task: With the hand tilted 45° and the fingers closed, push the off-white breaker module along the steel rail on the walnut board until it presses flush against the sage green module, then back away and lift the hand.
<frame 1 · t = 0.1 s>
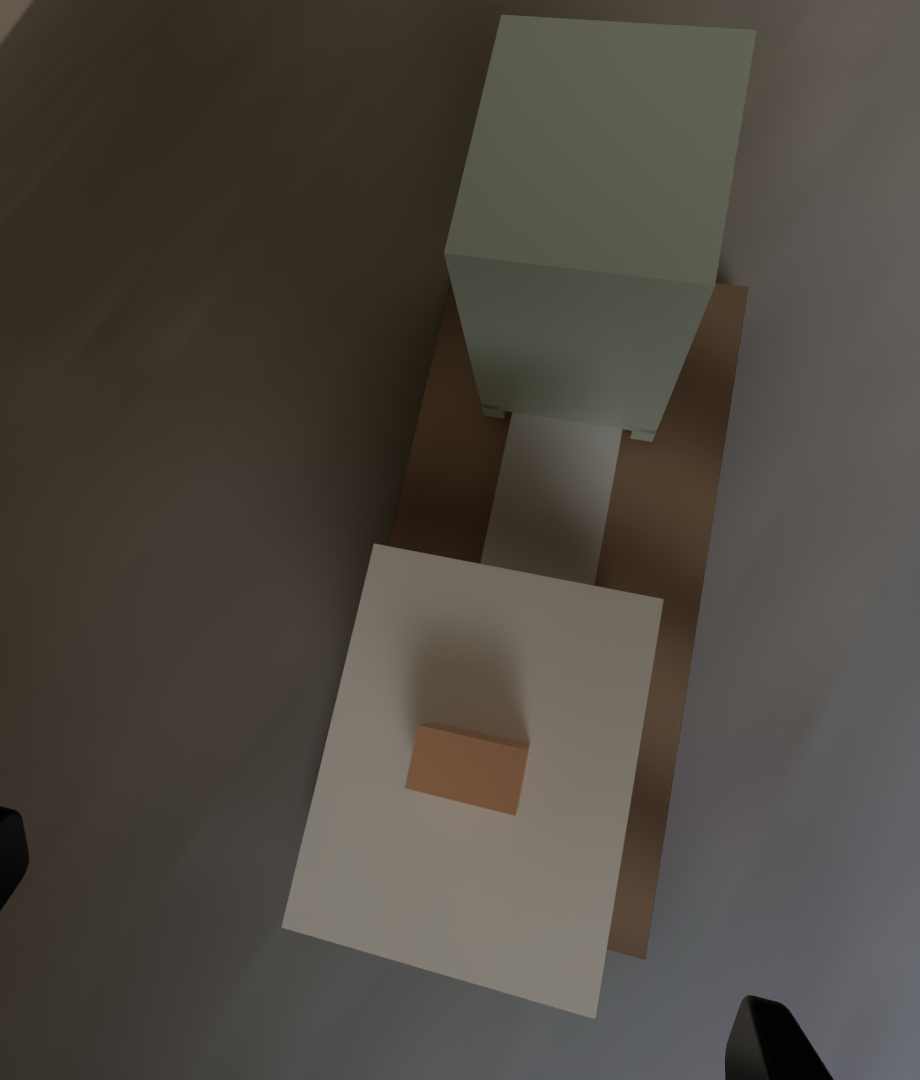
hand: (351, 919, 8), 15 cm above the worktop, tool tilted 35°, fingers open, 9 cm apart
installed module: (580, 368, 25), resting on rail board
rail board: (540, 571, 24), on the worktop
breaker module: (492, 745, 16), point 7 cm above the worktop, slide at 0.0 cm
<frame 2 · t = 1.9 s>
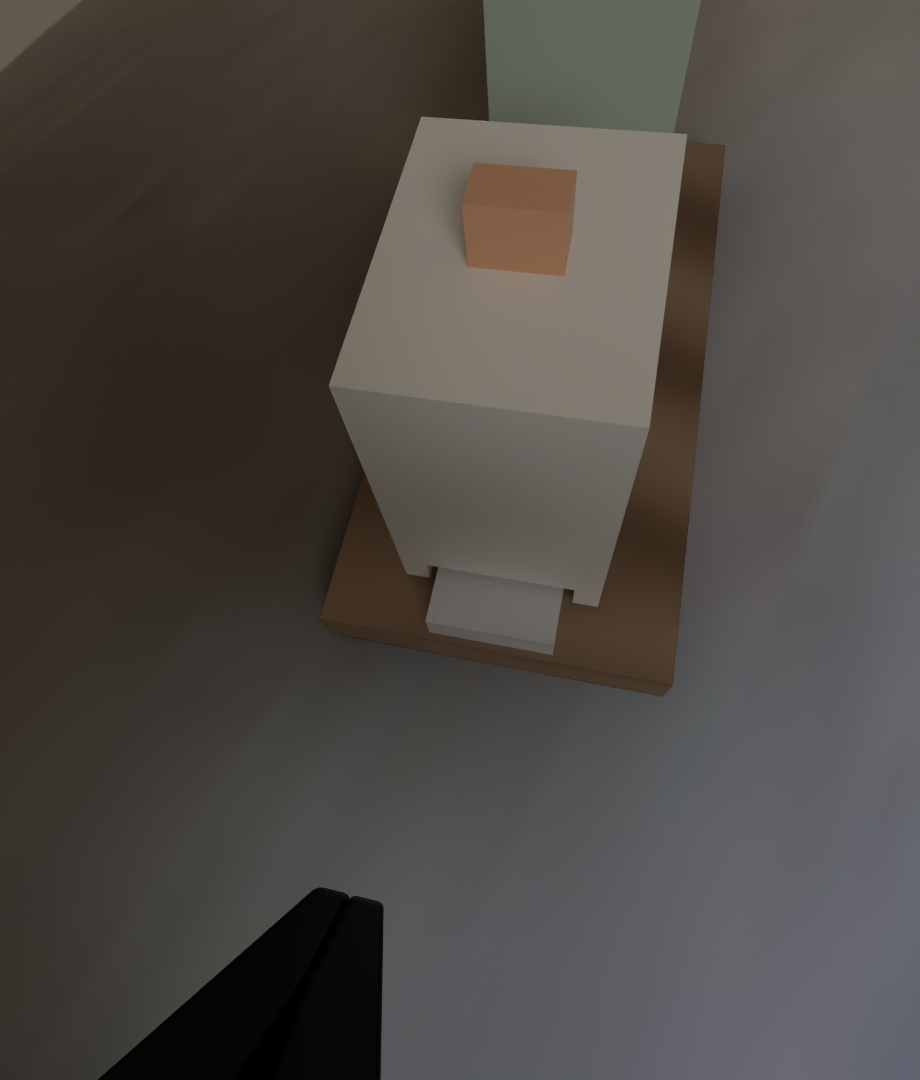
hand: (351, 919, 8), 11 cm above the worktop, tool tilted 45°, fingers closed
installed module: (579, 223, 28), resting on rail board
rail board: (548, 377, 25), on the worktop
breaker module: (521, 376, 17), point 7 cm above the worktop, slide at 0.0 cm
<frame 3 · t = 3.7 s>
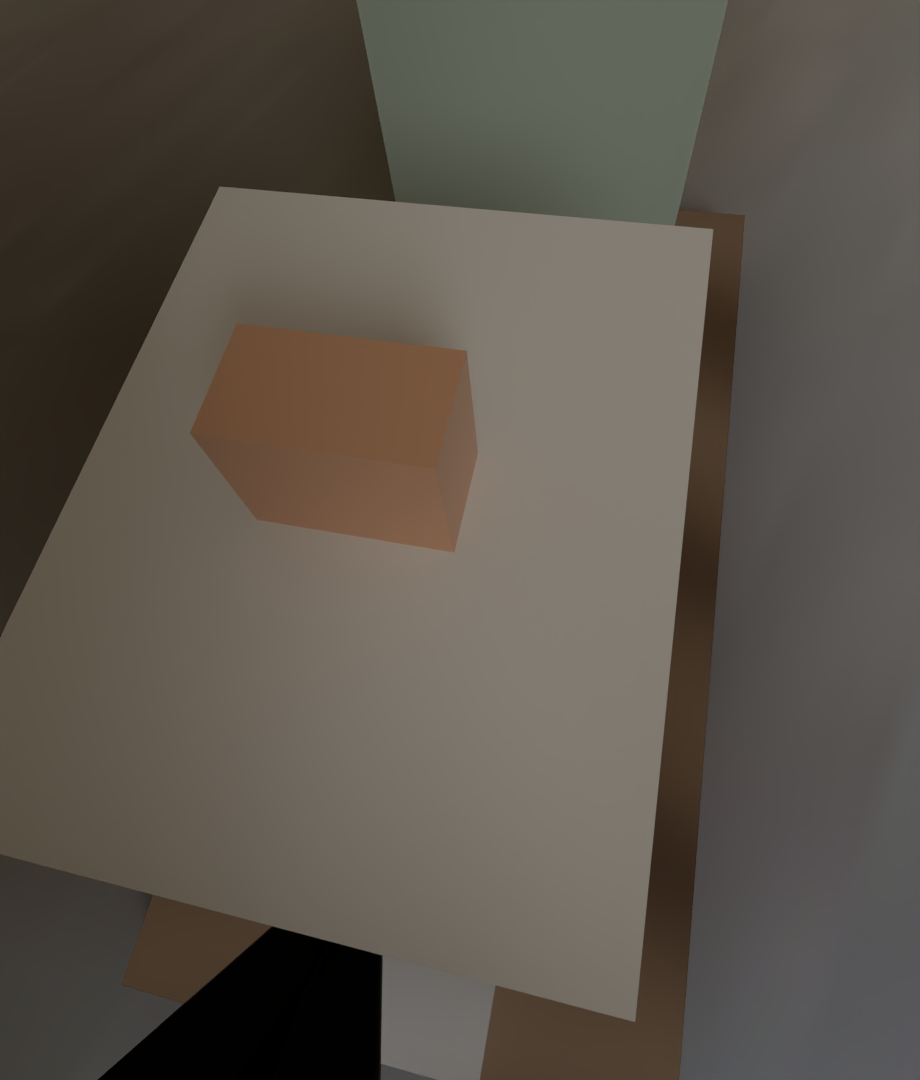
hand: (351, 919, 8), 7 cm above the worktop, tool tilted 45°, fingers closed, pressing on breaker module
installed module: (546, 317, 21), resting on rail board
rail board: (497, 549, 18), on the worktop
breaker module: (423, 618, 10), point 7 cm above the worktop, slide at 1.1 cm, touching gripper
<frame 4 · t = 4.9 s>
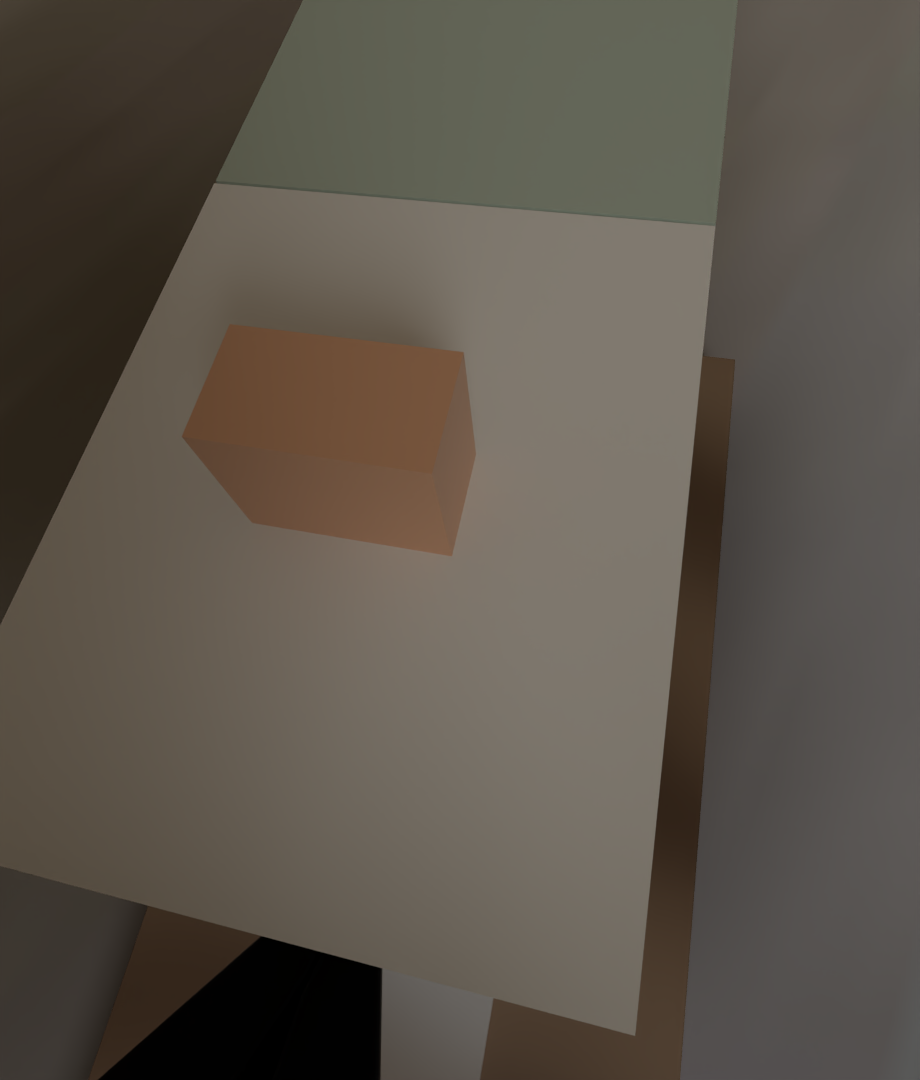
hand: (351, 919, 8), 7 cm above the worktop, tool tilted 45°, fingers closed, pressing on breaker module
installed module: (514, 465, 19), resting on rail board
rail board: (453, 756, 16), on the worktop
breaker module: (421, 619, 10), point 7 cm above the worktop, slide at 6.3 cm, touching gripper
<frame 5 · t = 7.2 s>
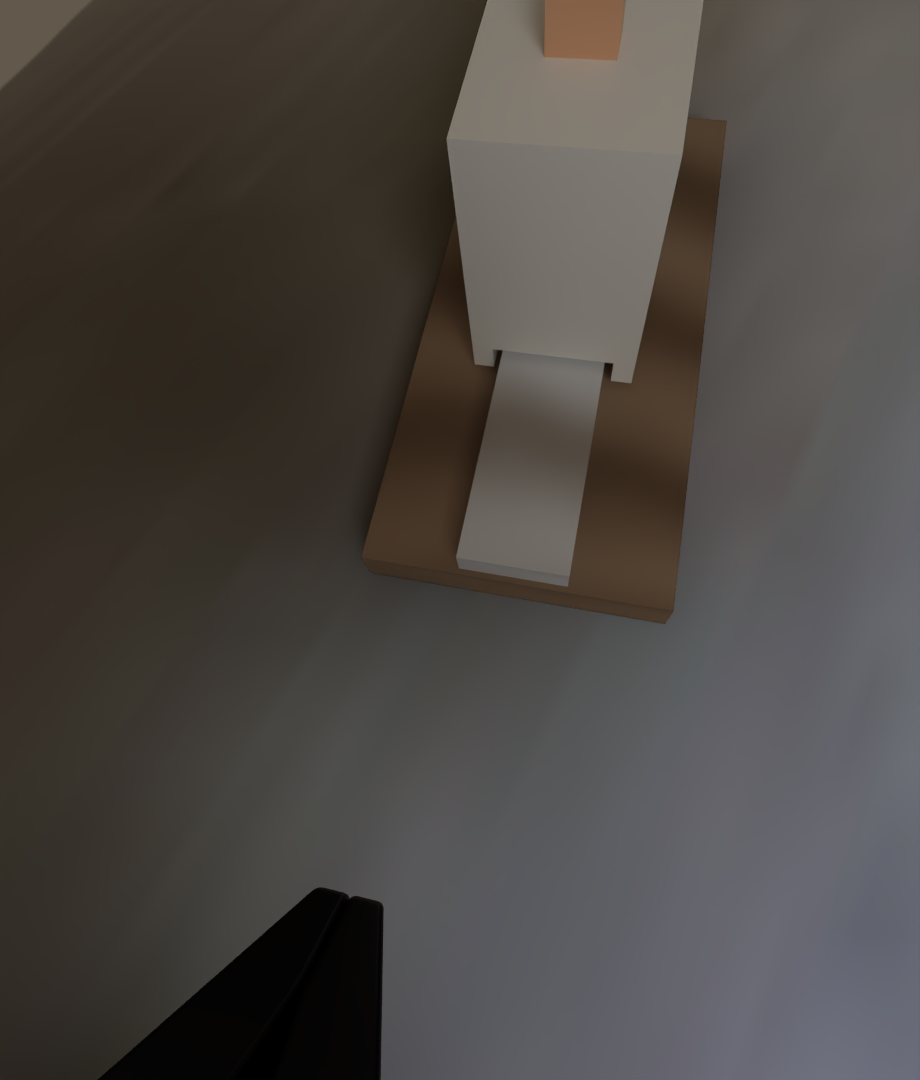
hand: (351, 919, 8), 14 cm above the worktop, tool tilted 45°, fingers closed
rail board: (562, 341, 27), on the worktop
breaker module: (574, 174, 21), point 7 cm above the worktop, slide at 6.0 cm
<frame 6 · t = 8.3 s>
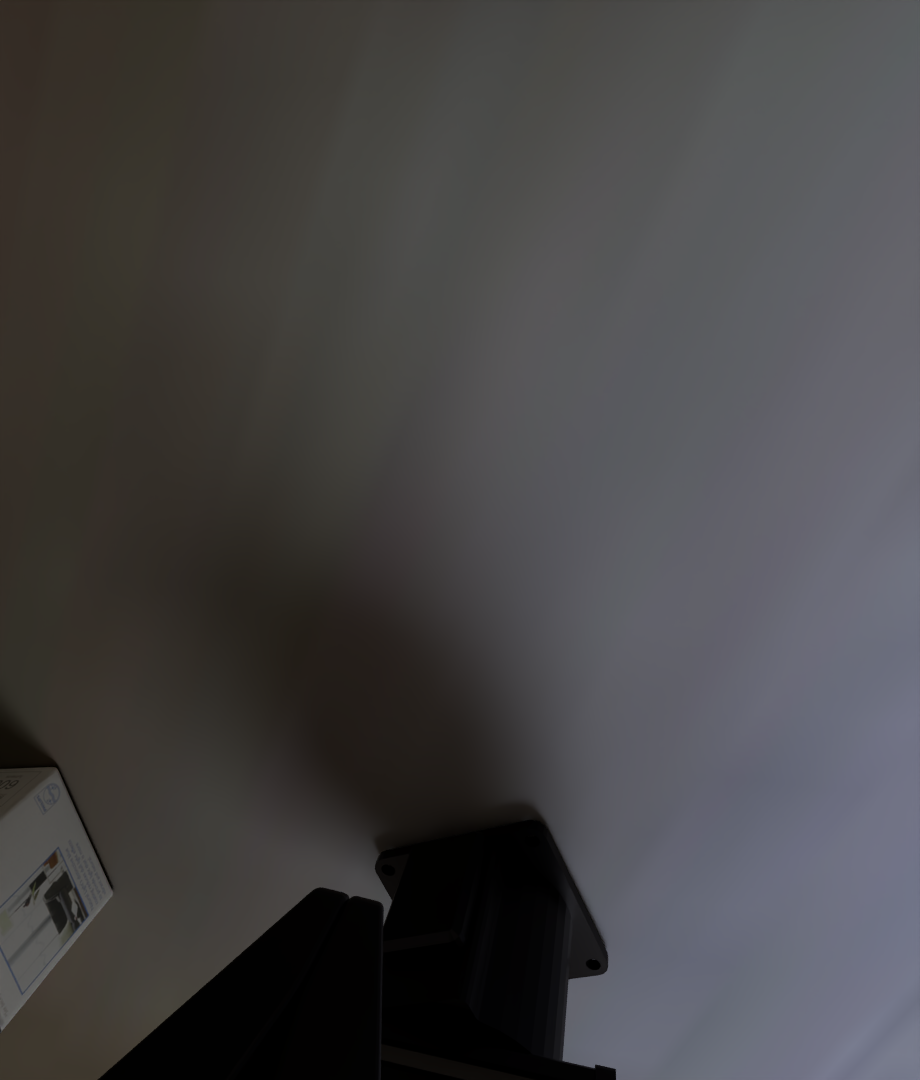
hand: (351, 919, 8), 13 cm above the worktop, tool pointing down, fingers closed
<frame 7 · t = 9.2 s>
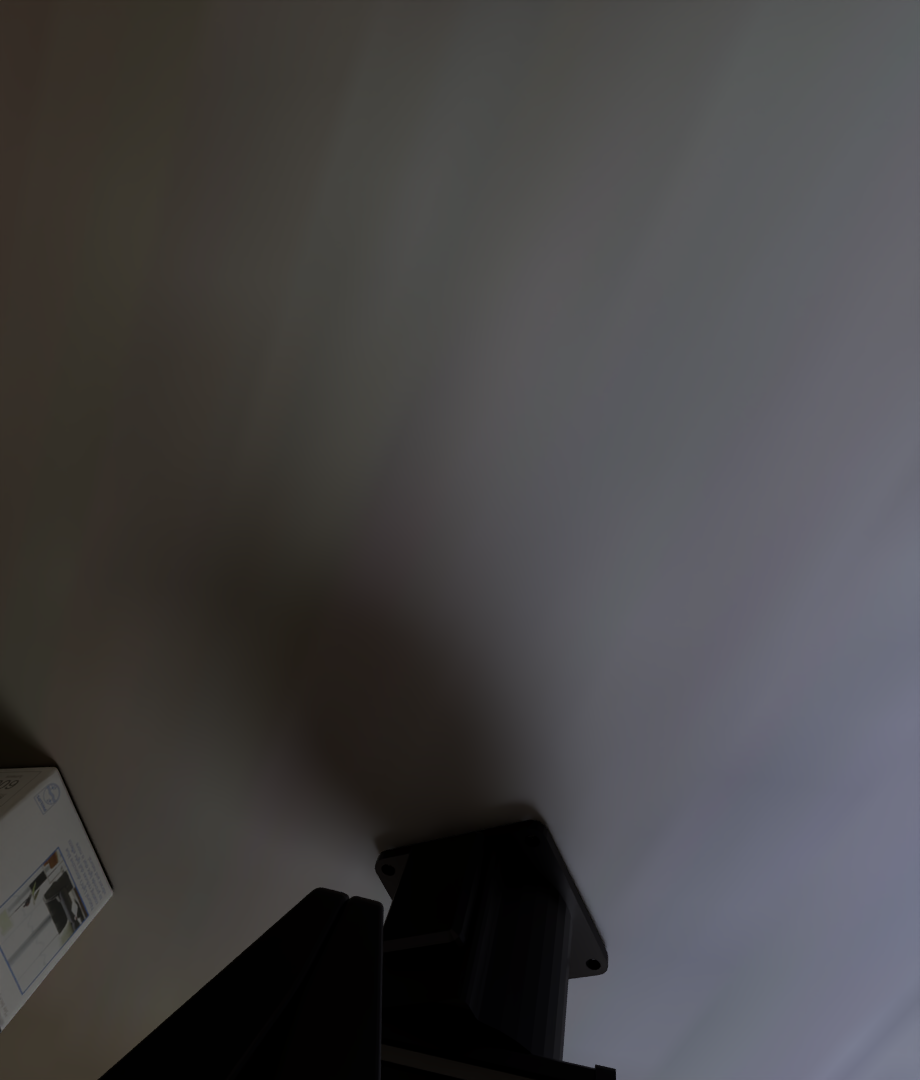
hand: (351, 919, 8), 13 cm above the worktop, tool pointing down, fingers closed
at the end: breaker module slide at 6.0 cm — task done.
